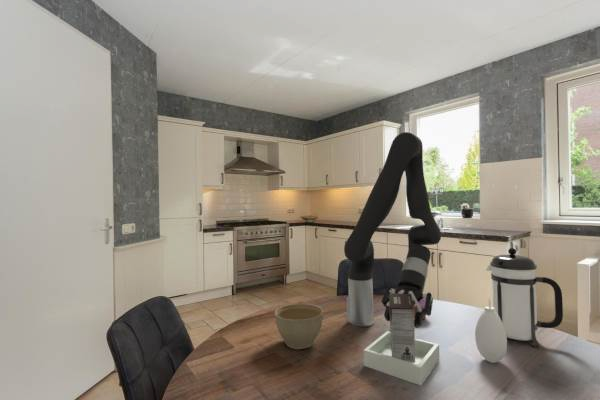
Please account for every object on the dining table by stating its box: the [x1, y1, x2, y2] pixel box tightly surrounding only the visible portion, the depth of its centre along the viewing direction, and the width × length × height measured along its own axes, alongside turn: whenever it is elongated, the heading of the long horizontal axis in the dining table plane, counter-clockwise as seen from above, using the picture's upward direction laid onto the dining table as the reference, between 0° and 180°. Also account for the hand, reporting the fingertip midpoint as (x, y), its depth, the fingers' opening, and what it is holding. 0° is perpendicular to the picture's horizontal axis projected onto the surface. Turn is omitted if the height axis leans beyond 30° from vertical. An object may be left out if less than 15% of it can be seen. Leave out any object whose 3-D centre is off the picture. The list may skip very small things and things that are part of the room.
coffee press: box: [485, 247, 564, 348], centre depth 103 cm, size 17×16×30 cm
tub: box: [363, 330, 440, 386], centre depth 90 cm, size 16×16×4 cm
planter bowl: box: [274, 303, 324, 350], centre depth 104 cm, size 16×16×11 cm
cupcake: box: [414, 292, 427, 320], centre depth 124 cm, size 9×9×10 cm
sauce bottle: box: [474, 298, 508, 364], centre depth 89 cm, size 8×8×18 cm
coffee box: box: [389, 293, 415, 363], centre depth 88 cm, size 9×6×16 cm
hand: (401, 323), depth 90 cm, fingers closed on coffee box, 8 cm apart
